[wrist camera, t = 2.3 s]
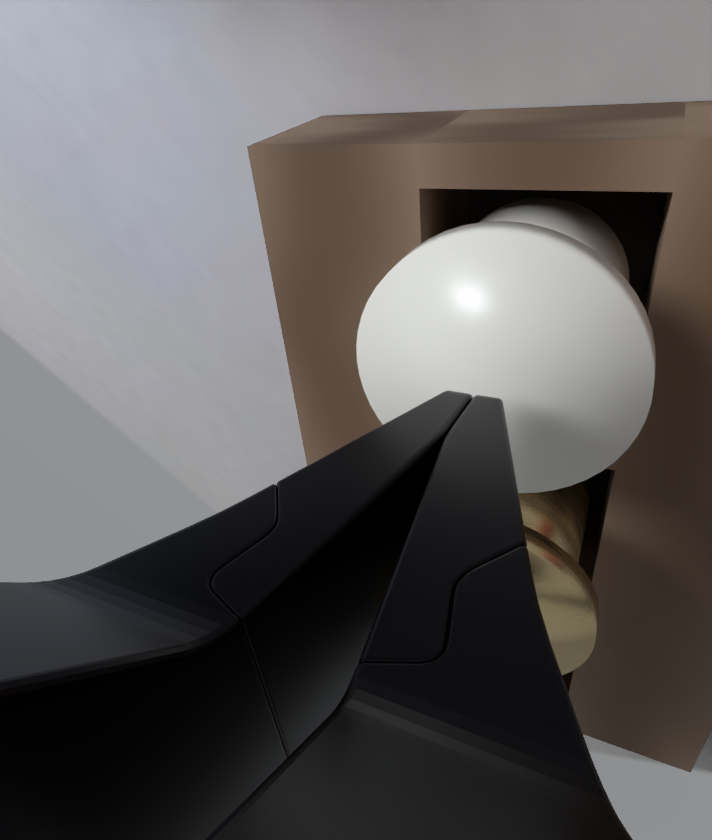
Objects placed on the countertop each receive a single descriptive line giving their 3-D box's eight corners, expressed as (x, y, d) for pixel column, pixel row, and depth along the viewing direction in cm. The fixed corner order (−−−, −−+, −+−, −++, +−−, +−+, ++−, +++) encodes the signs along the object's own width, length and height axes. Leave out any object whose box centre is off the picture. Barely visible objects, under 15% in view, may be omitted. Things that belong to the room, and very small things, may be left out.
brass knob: (630, 438, 14) (613, 566, 11) (600, 575, 16) (580, 705, 13) (432, 406, 15) (372, 506, 13) (435, 533, 18) (387, 639, 15)
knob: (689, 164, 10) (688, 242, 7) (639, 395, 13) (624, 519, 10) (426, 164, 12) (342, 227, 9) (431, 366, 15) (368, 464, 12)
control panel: (931, 92, 10) (1009, 133, 8) (690, 673, 21) (690, 772, 18) (322, 115, 15) (247, 146, 12) (376, 579, 25) (341, 647, 23)
